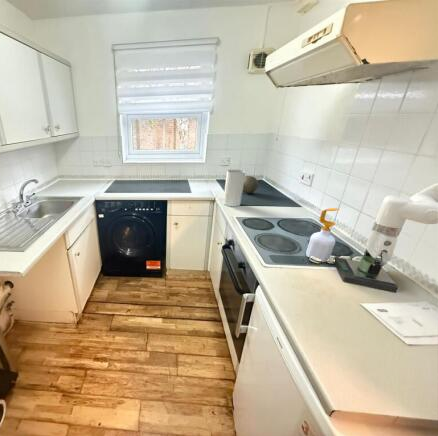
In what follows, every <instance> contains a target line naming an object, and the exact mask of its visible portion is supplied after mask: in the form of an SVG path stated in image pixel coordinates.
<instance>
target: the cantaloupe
mask: <svg viewBox="0 0 438 436" xmlns="http://www.w3.org/2000/svg"><path fill="white" fill-rule="evenodd" d="M258 187H259V181H258V179H257V178H256V177H255V176H252V175H249V176H245V178H244V185H243V191H242V193H245V194H248V195H249V194H253V193H254V192H256V190H257V189H258Z"/></svg>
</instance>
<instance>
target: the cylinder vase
mask: <svg viewBox="0 0 438 436" xmlns="http://www.w3.org/2000/svg"><path fill="white" fill-rule="evenodd" d="M245 177H246V171H245V170H242V169H227V170H226V177H225V185H224V192H223V199H222V204H223V205H224V206H227V207H233V208H234V207H239V206H241V203H242V198H243V185H244V178H245Z"/></svg>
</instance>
